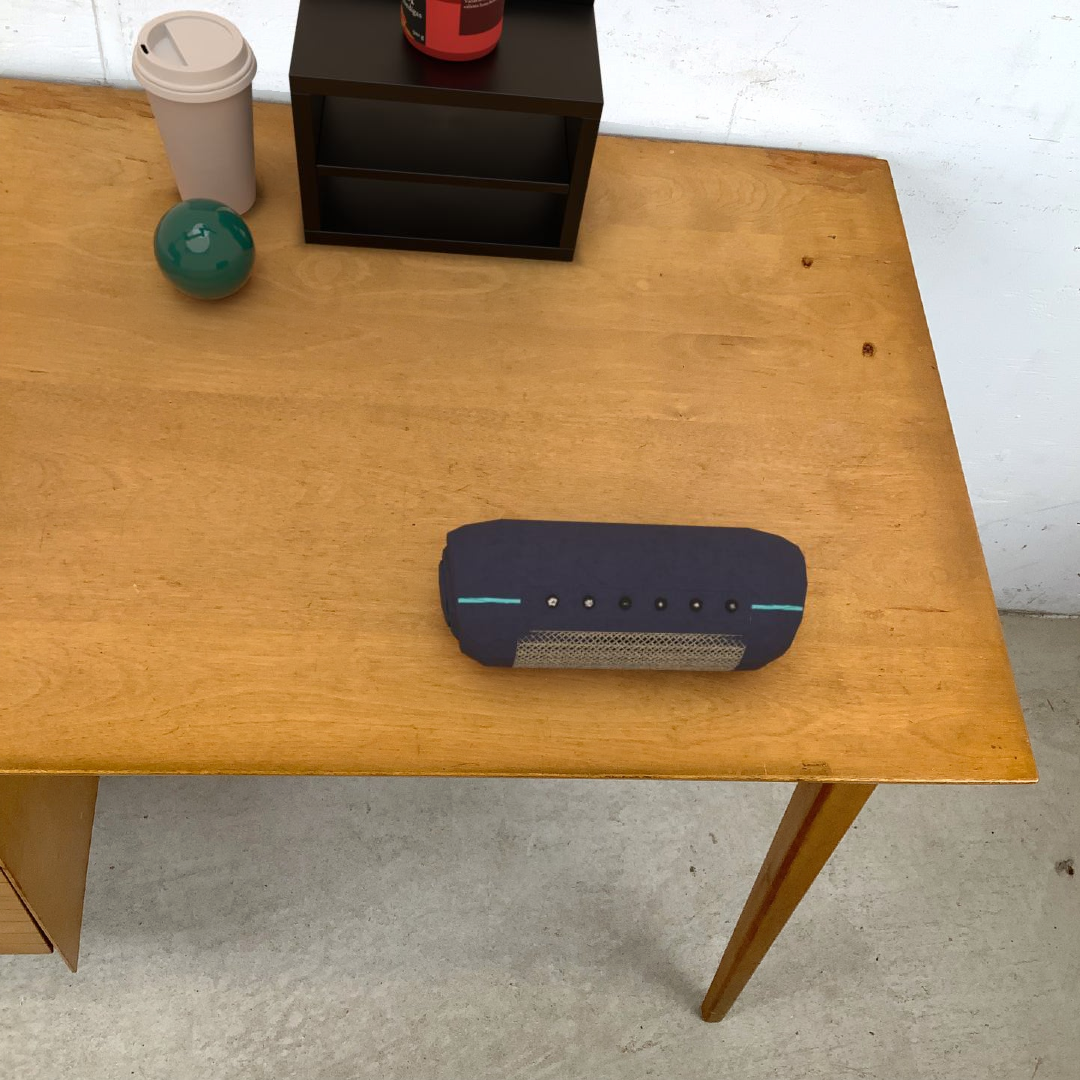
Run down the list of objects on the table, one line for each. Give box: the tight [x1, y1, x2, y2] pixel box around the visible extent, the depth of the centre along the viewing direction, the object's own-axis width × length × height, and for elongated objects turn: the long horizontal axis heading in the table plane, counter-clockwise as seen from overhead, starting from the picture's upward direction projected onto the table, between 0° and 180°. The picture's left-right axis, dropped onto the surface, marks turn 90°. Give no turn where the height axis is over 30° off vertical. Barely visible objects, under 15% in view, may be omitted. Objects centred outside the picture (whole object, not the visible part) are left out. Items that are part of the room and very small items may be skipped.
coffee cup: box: [131, 9, 258, 216], centre depth 85 cm, size 10×10×15 cm
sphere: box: [152, 198, 257, 301], centre depth 82 cm, size 8×8×8 cm
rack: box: [288, 0, 605, 263], centre depth 87 cm, size 14×24×18 cm, turn 92°
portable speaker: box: [438, 518, 809, 672], centre depth 69 cm, size 25×10×10 cm, turn 92°
